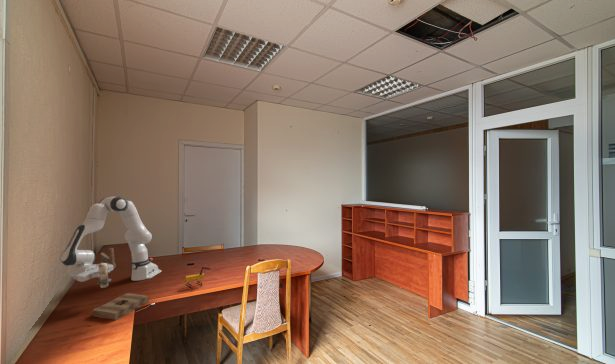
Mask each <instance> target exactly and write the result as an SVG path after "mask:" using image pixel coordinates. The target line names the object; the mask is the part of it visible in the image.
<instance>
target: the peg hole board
mask: <svg viewBox="0 0 615 364" xmlns="http://www.w3.org/2000/svg"><path fill="white" fill-rule="evenodd" d="M149 302H150V301H149V296H148V295H144V294H138V293H131V292H127V293H124V294H123V295H120V296H118V297H116V298H114V299H112V300H110V301H108V302H106V303H105V304H102V305H99V306H98V307H96V308H94V309H92V312H93V313H92V315H93V317H96V318H100V319H101V318H102V319H106V320H107V319H108V320H112V321H117V320H119V319H120V318H122V317H124V316H126V315H127V314H130V313H131V312H133V311H135V310H137V309H138V308H141V307H142V306H144V305H146V304H147V303H149Z"/></svg>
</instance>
